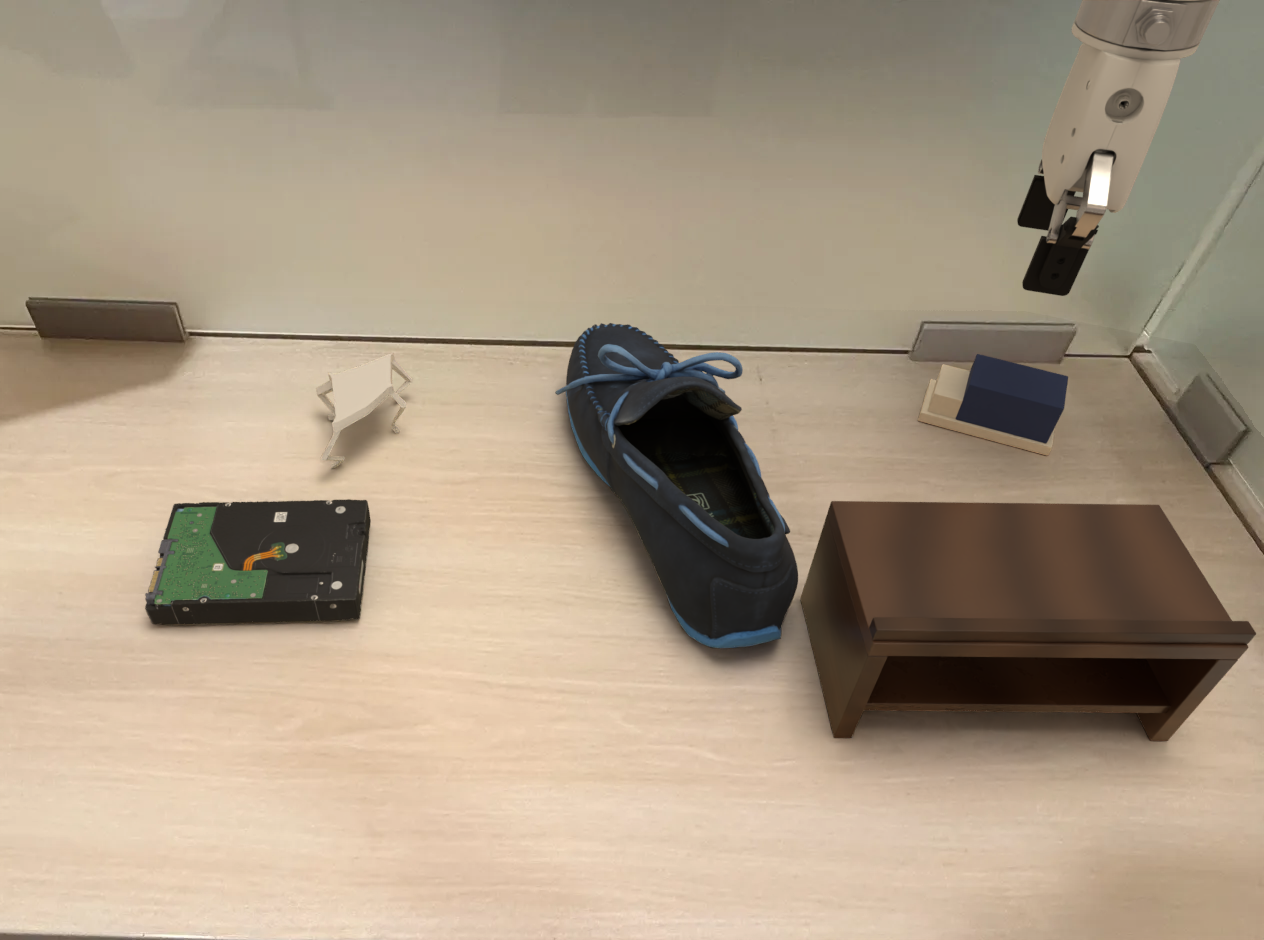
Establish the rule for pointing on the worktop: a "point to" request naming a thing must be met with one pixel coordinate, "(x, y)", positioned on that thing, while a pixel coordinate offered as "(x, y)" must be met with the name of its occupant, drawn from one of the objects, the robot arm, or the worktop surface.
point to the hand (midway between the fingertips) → (1040, 257)
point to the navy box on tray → (997, 402)
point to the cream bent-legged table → (360, 395)
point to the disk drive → (261, 563)
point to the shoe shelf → (1013, 612)
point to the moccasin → (684, 482)
